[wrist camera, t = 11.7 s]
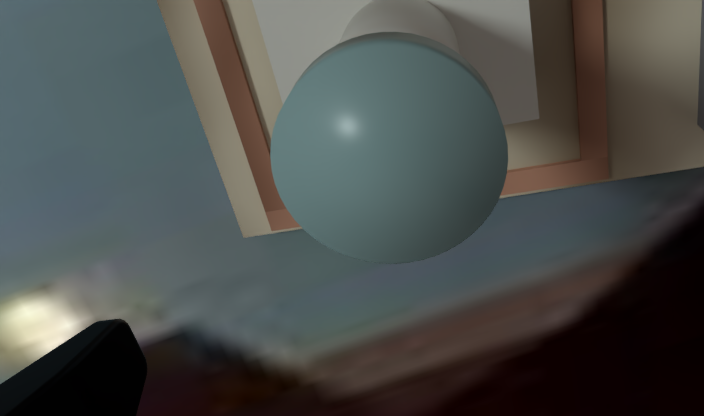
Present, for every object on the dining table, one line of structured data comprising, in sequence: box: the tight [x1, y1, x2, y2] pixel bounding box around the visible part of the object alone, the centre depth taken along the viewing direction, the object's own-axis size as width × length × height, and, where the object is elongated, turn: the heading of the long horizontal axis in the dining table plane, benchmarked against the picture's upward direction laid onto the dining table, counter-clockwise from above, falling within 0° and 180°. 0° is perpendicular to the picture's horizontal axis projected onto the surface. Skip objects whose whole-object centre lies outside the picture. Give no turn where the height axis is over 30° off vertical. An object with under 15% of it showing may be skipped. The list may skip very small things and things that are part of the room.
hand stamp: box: [252, 0, 539, 264], centre depth 14 cm, size 7×5×9 cm
